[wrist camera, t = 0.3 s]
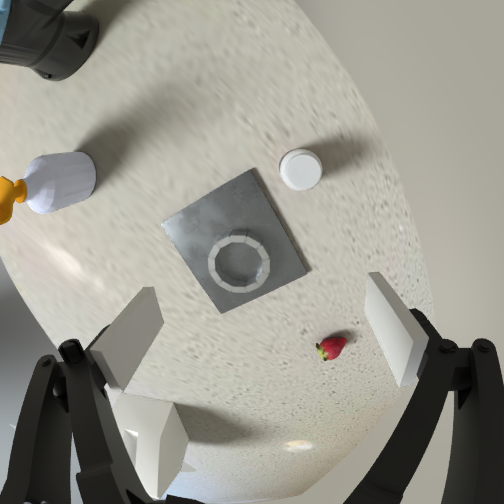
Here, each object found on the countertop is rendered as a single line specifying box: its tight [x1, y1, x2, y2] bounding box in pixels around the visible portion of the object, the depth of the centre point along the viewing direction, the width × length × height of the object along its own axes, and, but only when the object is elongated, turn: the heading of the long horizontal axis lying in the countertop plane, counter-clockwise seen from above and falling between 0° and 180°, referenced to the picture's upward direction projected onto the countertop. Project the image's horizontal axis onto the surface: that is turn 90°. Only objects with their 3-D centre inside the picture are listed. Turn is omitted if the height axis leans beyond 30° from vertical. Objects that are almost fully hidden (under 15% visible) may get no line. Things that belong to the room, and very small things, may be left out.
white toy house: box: [112, 392, 189, 499], centre depth 49 cm, size 19×15×25 cm
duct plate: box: [161, 170, 308, 314], centre depth 40 cm, size 18×16×3 cm
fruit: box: [316, 337, 347, 361], centre depth 44 cm, size 4×6×5 cm
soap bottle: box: [0, 152, 96, 225], centre depth 28 cm, size 9×9×25 cm
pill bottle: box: [279, 149, 323, 191], centre depth 33 cm, size 5×5×9 cm
